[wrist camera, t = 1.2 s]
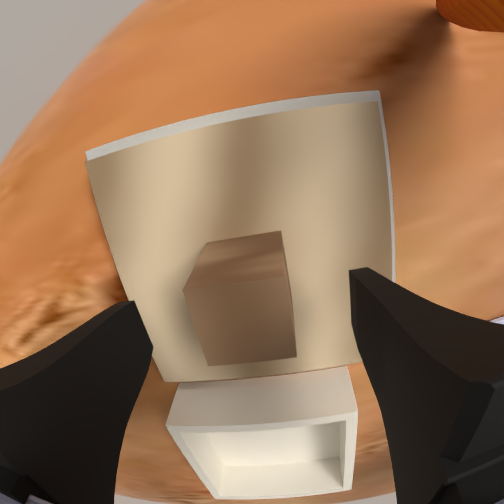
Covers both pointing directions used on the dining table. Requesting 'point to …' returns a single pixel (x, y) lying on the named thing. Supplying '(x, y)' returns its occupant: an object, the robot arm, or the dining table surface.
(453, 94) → the dining table surface
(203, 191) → the oak lid
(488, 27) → the carrot
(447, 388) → the robot arm
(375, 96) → the rubber mat
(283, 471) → the cream dish
